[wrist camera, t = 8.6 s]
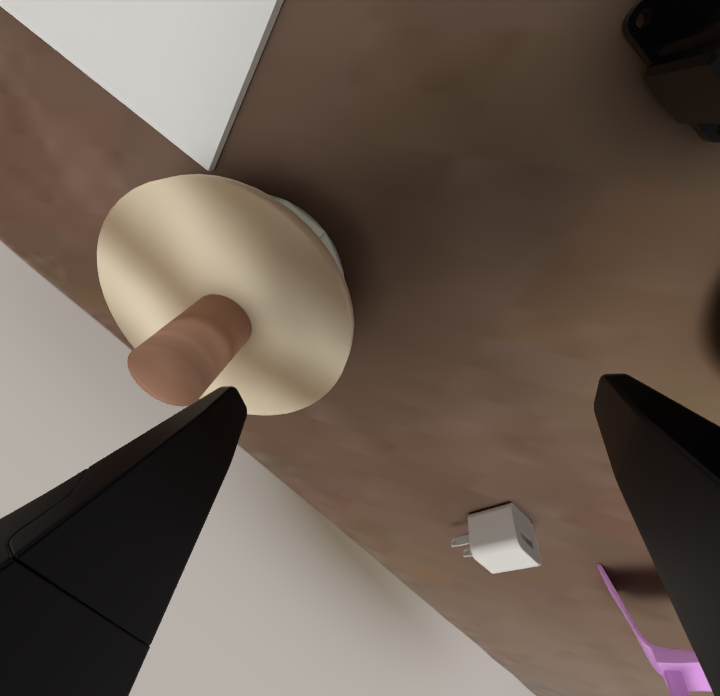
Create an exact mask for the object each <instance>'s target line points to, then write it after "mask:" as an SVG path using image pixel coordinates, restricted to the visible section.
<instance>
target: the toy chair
mask: <svg viewBox="0 0 720 696" xmlns="http://www.w3.org/2000/svg"><path fill="white" fill-rule="evenodd" d="M597 566H598V569H599V571H600V573H601V575H602V577H603V579H604V581H605V583H606V585H607V588H608V590H609V592H610V593H611V595H612V597H613V598H614V600H615V601H616V603H617V604H618V606H619V608H620V609H621V611H622V612H623V614H624V616H625V617H626V619H627V621H628V623H629V624H630V626H631V628H632V630H633V632H634V633H635V635H636V637H637V639H638V641H639V643H640V645H641V647H642V648H643V650H644V652H645V654H646V656H647V658H648V659H649V661H650V663H651V664H652V666H653V667H654V668H655V670H656V671H657V672H658V673H659V674H661V675H662V676H663V678H664V680H665V683H666V685H667V687H668V690H669V691H670V695H671V696H690V694H689V692H688V691H712V690H711V688H710V685H709V683H708V681H707V679H706V677H705V674H704V672H703V670H702V668H701V666H700V663H699V661H698V659H697V657H696V655H695V652H694V651H691V650H682V649H675V648H664V647H659V646H656V645H654V644H651V643H650V642H648V641H647V640H646V639H645V638H644V637H643V635H642V634H641V632H640V631H639V629H638V628H637V626H636V624H635V623H634V621H633V619H632V617H631V616H630V614H629V612H628V611H627V609H626V607H625V605H624V604H623V602H622V600H621V598H620V597H619V595H618V593H617V591H616V590H615V588H614V586H613V585H612V583H611V581H610V579H609V578H608V576H607V574H606V573H605V571H604V569H603V567H602V566H601V564H600V563H598V564H597Z"/></svg>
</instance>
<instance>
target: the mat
mask: <svg viewBox="0 0 720 696" xmlns="http://www.w3.org/2000/svg"><path fill="white" fill-rule="evenodd" d="M283 1H284V0H0V6H1V7H2V8H4V9H5V10H6V11H7V12H9V13H10V14H11V15H12V16H14V17H15V18H16V19H17V20H19V21H20V22H21V23H23V24H24V25H25V26H26V27H28V28H29V29H30V30H31V31H33V32H34V33H35V34H36V35H38V36H39V37H40V38H41V39H43V40H44V41H45V42H46V43H48V44H49V45H50V46H51V47H53V48H54V49H55V50H57V51H58V52H59V53H60V54H62V55H63V56H64V57H65V58H67V59H68V60H69V61H70V62H72V63H73V64H74V65H75V66H77V67H78V68H79V69H80V70H82V71H83V72H84V73H85V74H87V75H88V76H89V77H90V78H92V79H93V80H94V81H96V82H97V83H98V84H99V85H101V86H102V87H103V88H104V89H106V90H107V91H108V92H109V93H111V94H112V95H113V96H114V97H116V98H117V99H118V100H119V101H121V102H122V103H123V104H124V105H126V106H127V107H128V108H130V109H131V110H132V111H133V112H135V113H136V114H137V115H138V116H140V117H141V118H142V119H143V120H145V121H146V122H147V123H148V124H150V125H151V126H152V127H153V128H155V129H156V130H157V131H158V132H160V133H161V134H162V135H164V136H165V137H166V138H167V139H169V140H170V141H171V142H172V143H174V144H175V145H176V146H177V147H179V148H180V149H181V150H182V151H184V152H185V153H186V154H187V155H189V156H190V157H191V158H192V159H194V160H195V161H196V162H197V163H199V164H200V165H201V166H203V167H204V168H205V169H206V170H208V171H210V170H214V169H215V166H216V164H217V161H218V159H219V157H220V154H221V152H222V149H223V147H224V144H225V142H226V140H227V137H228V135H229V132H230V130H231V127H232V125H233V123H234V120H235V118H236V115H237V113H238V110H239V108H240V106H241V103H242V101H243V98H244V96H245V93H246V91H247V89H248V86H249V84H250V81H251V79H252V76H253V74H254V72H255V69H256V67H257V64H258V62H259V59H260V57H261V55H262V52H263V50H264V47H265V45H266V42H267V40H268V38H269V35H270V33H271V30H272V28H273V25H274V23H275V21H276V18H277V16H278V13H279V11H280V8H281V6H282V4H283Z"/></svg>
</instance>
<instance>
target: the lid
mask: <svg viewBox="0 0 720 696" xmlns="http://www.w3.org/2000/svg"><path fill="white" fill-rule="evenodd" d="M97 268H98V274H99V280H100V284H101V288H102V291H103V294H104V297H105V300H106V302H107V305H108V307H109V309H110V312H111V313H112V315H113V317H114V319H115V321H116V323H117V324H118V326H119V328H120V329H121V331H122V332H123V334H124V335H125V337H126V338H127V339H128V341H129V342H130V343H131V344H132V346H133V347H134V348H135V349H134V350H133V351H132V352H131V353H130V354H129V356H128V368H129V371H130V373H131V375H132V377H133V378H134V380H135V381H136V383H137V384H138V385H139V386H140V387H141V388H142V389H143V390H144V391H146V392H147V393H148V394H149V395H151V396H152V397H154V398H156V399H157V400H160V401H162V402H164V403H167V404H170V405H174V406H189V405H191V404H193V403H195V402H196V401H197V400H198V399H201V398H203V397H204V396H206V395H208V394H209V393H211V392H213V391H214V390H216V389H218V388H219V387H224V386H233V387H235V388H236V389H237V390H238V392H239V393H240V395H241V397H242V399H243V401H244V403H245V405H246V407H247V414H253V415H278V414H286V413H290V412H294V411H298V410H300V409H303V408H305V407H308V406H310V405H311V404H313V403H315V402H316V401H318V400H319V399H321V398H322V397H323V396H324V395H326V394H327V393H328V392H329V391H330V390H331V388H332V387H333V386H334V385H335V384H336V382H337V380H338V379H339V377H340V376H341V374H342V372H343V369H344V367H345V364H346V362H347V359H348V356H349V353H350V350H351V346H352V341H353V336H354V315H353V306H352V302H351V298H350V293H349V290H348V287H347V285H346V282H345V279H344V277H343V274H342V272H341V270H340V268H339V267H338V265H337V263H336V261H335V259H334V257H333V256H332V254H331V253H330V251H329V250H328V248H327V247H326V246H325V244H324V243H323V241H322V240H321V239H320V238H319V237H318V236H317V234H316V233H315V232H314V231H313V230H312V229H311V228H310V226H309V225H308V224H306V223H305V222H304V221H303V220H302V219H301V218H300V217H299V216H298V215H297V214H295V213H294V212H293V211H292V210H291V209H289V208H288V207H286V206H285V205H284V204H282V203H281V202H279V201H278V200H277V199H275V198H273V197H272V196H270V195H268V194H266V193H264V192H262V191H261V190H259V189H257V188H255V187H252V186H250V185H247V184H244V183H242V182H239V181H237V180H233V179H229V178H225V177H221V176H215V175H205V174H188V175H178V176H173V177H169V178H164V179H160V180H156V181H152V182H148V183H146V184H144V185H141V186H139V187H137V188H135V189H133V190H131V191H130V192H129V193H127V194H126V195H125V196H123V197H122V198H121V199H120V200H119V201H118V202H117V203H116V204H115V206H114V207H113V208H112V209H111V210H110V212H109V214H108V216H107V217H106V219H105V221H104V223H103V226H102V229H101V232H100V235H99V240H98V247H97Z"/></svg>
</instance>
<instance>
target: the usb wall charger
mask: <svg viewBox="0 0 720 696" xmlns="http://www.w3.org/2000/svg"><path fill="white" fill-rule="evenodd" d="M468 530H469V535H465V536H460V537H457V538H454V539H451V547H455V546H461V545H466V544H470V548H467V549H464V550H463V557H469V556H473V557H474V559H475V560H477V561H478V562H479V563H480V564H481V565H483V566H484V567H485V568H486V569H487V570H489V571H490V572H491V573H492V574H494V573H500V572H506V571H512V570H517V569H523V568H529V567H535V566H541V557H540V553H539V549H538V545H537V541H536V537H535V533H534V529H533V526H532V524H531V522H530V520H529V519H528V518H527V517H526V516H525V515H524V514H523V513H522V512H521V511H520V510H519V509H518V508H517V507H516V506H515V505H514V504H513V503H509V504H505V505H502V506H498V507H495V508H491V509H487V510H484V511H480V512H477V513H473V514H469V515H468ZM454 540H456V544H455V545H453V541H454ZM467 550H468V551H469V553H468V555H465V552H466V551H467Z"/></svg>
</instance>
